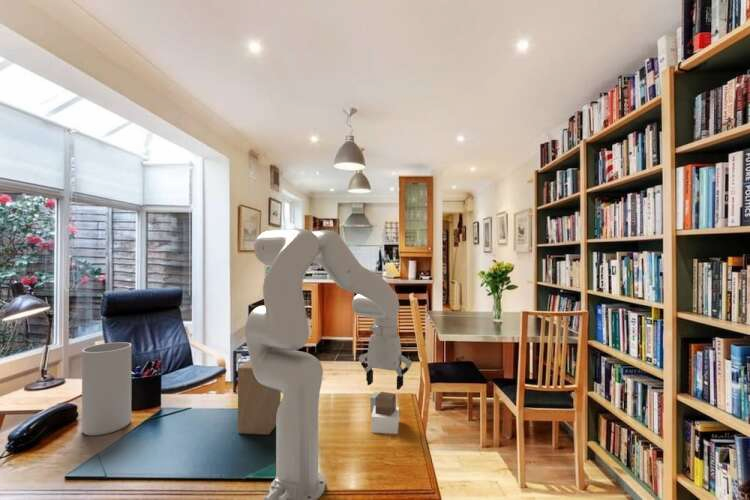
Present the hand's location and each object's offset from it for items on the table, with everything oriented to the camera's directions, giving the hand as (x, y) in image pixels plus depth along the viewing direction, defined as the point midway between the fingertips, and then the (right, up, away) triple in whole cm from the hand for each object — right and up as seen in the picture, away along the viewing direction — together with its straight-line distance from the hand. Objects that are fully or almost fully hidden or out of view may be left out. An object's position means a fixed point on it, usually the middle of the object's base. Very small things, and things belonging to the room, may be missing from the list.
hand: (384, 385), depth 113 cm
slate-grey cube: (-1, -13, +13) cm, 19 cm away
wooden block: (-39, -13, +1) cm, 41 cm away
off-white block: (0, -13, 0) cm, 13 cm away
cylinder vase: (-87, -13, +1) cm, 88 cm away
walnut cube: (0, -8, +1) cm, 8 cm away
